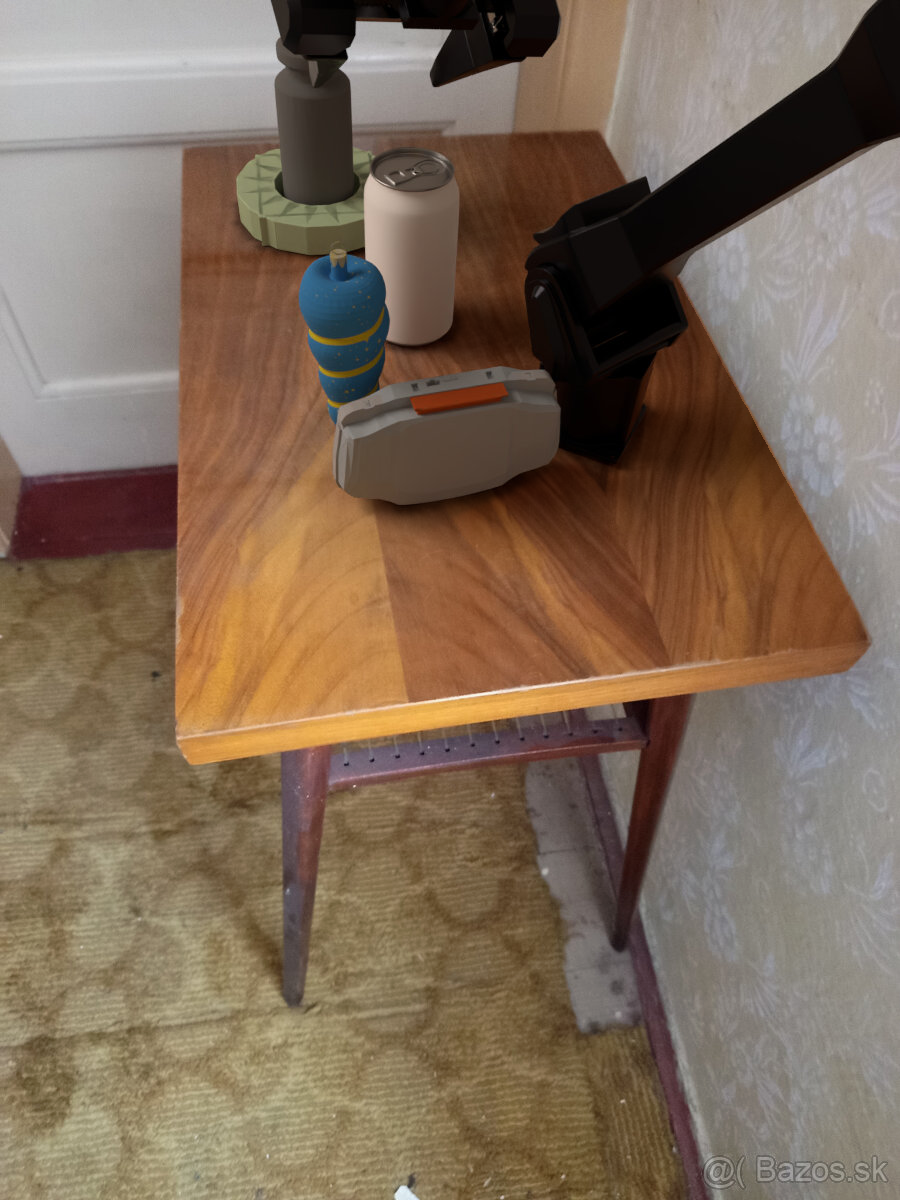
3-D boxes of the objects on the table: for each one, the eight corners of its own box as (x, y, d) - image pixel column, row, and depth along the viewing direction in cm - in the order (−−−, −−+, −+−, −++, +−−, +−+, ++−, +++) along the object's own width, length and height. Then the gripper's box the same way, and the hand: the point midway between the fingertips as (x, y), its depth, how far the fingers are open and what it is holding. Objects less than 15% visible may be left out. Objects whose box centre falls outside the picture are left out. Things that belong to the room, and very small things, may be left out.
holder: (387, 168, 83) (387, 140, 81) (406, 251, 75) (406, 222, 73) (239, 173, 81) (235, 145, 80) (242, 258, 74) (237, 229, 72)
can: (469, 331, 69) (480, 177, 60) (396, 359, 67) (396, 203, 57) (422, 288, 72) (426, 134, 63) (351, 313, 70) (344, 158, 60)
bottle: (359, 227, 77) (354, 31, 65) (289, 231, 76) (271, 33, 64) (349, 191, 81) (343, -1, 69) (282, 195, 80) (264, 0, 68)
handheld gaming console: (542, 450, 62) (559, 353, 55) (558, 480, 60) (577, 383, 54) (332, 488, 59) (324, 390, 52) (342, 521, 57) (335, 424, 51)
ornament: (396, 472, 60) (395, 267, 48) (316, 479, 59) (296, 272, 47) (386, 419, 63) (383, 214, 51) (310, 425, 62) (290, 218, 50)
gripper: (570, -216, 54) (460, -24, 68) (266, -265, 46) (214, -37, 60) (619, -33, 54) (499, 120, 68) (324, -51, 46) (258, 126, 60)
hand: (375, 81), depth 64 cm, fingers open, 9 cm apart
